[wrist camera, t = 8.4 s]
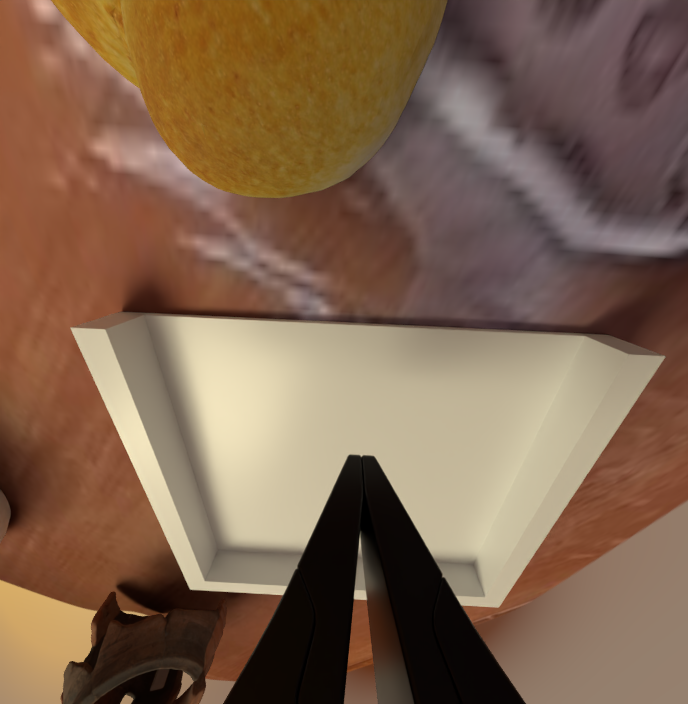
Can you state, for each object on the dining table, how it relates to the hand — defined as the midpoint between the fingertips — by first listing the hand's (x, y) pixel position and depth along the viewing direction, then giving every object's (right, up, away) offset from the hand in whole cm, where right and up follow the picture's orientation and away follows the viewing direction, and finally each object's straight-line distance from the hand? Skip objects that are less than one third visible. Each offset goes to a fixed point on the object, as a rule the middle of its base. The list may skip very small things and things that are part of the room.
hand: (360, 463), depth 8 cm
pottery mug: (-16, -18, +15) cm, 29 cm away
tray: (0, -3, +6) cm, 7 cm away
